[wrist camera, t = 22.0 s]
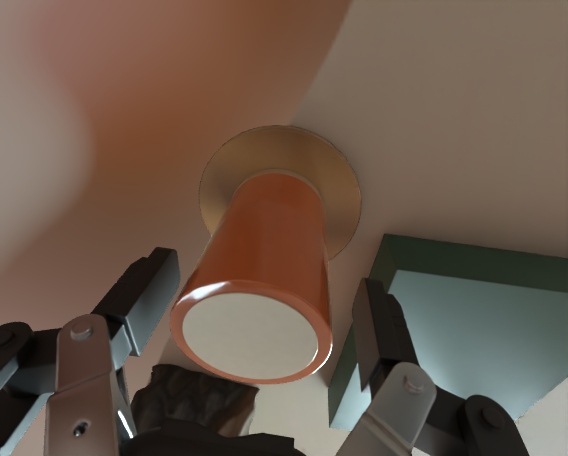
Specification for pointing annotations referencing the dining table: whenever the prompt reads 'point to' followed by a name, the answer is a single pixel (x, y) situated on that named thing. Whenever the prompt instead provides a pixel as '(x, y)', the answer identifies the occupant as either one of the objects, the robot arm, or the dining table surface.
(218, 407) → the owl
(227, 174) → the coaster
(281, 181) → the tumbler
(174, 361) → the dining table surface
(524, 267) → the book
